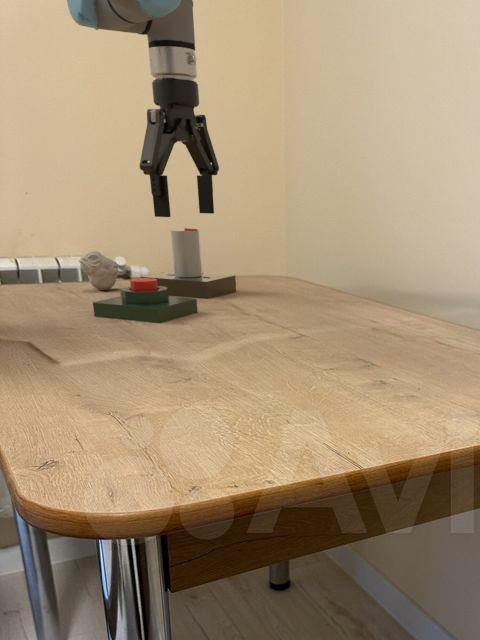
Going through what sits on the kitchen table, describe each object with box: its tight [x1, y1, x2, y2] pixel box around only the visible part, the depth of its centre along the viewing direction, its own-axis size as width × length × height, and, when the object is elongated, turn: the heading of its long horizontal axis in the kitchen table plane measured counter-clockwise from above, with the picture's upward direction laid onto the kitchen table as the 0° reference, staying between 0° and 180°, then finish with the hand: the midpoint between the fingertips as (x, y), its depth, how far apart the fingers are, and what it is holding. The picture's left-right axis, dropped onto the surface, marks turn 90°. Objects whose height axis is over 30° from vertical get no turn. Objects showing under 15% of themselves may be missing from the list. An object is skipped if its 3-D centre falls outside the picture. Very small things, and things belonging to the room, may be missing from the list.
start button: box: [129, 277, 158, 291], centre depth 109 cm, size 4×4×2 cm
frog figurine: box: [78, 250, 119, 291], centre depth 131 cm, size 6×7×7 cm
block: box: [92, 285, 199, 324], centre depth 110 cm, size 12×10×4 cm
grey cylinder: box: [170, 227, 203, 278], centre depth 129 cm, size 5×5×8 cm
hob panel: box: [139, 270, 237, 300], centre depth 131 cm, size 14×10×3 cm
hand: (185, 215), depth 127 cm, fingers open, 13 cm apart
